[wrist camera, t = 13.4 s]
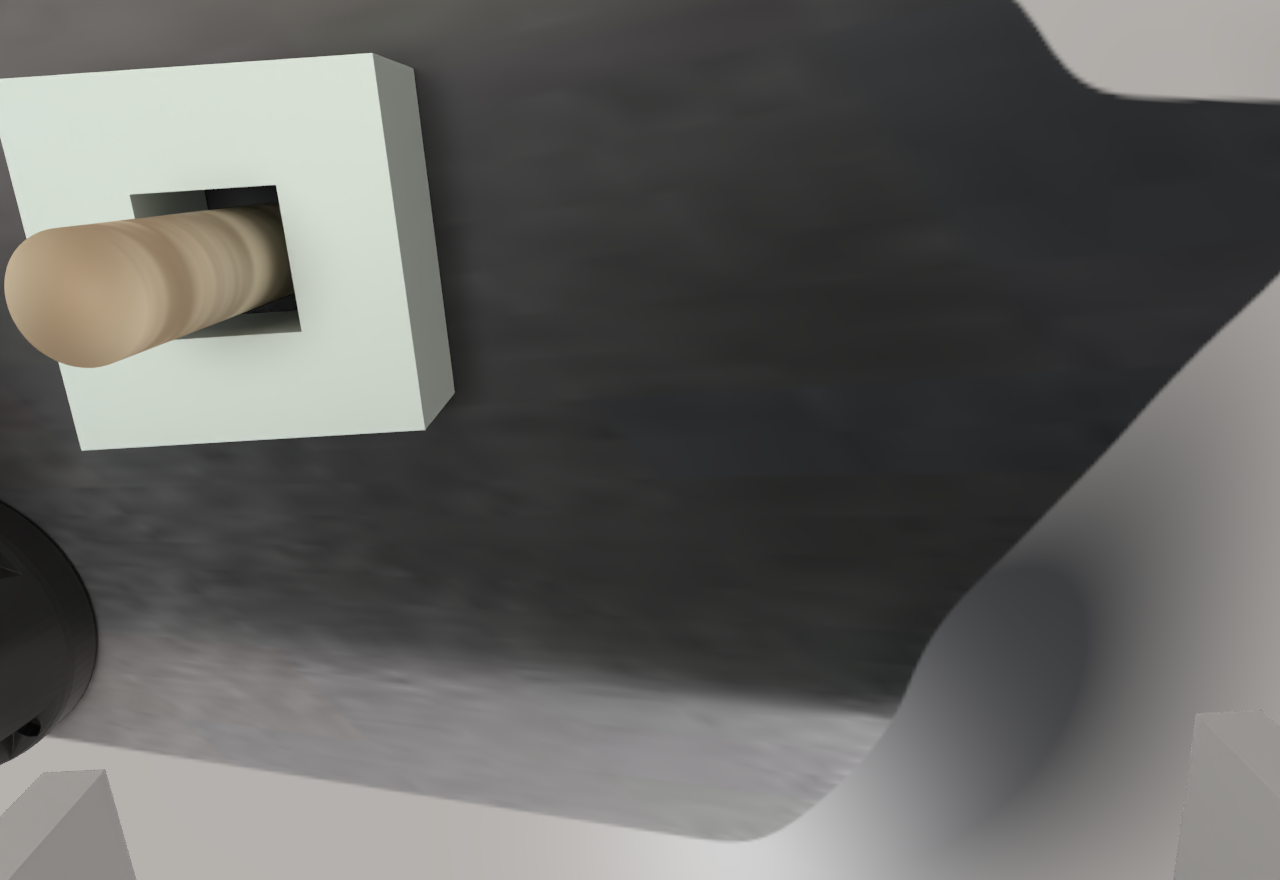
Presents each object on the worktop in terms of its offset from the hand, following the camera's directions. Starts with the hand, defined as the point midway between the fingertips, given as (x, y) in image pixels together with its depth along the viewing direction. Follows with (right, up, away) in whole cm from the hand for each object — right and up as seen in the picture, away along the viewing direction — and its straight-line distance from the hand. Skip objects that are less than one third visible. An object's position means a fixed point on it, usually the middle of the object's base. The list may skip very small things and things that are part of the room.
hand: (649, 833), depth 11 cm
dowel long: (-16, +13, +29) cm, 36 cm away
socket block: (-16, +13, +29) cm, 36 cm away
